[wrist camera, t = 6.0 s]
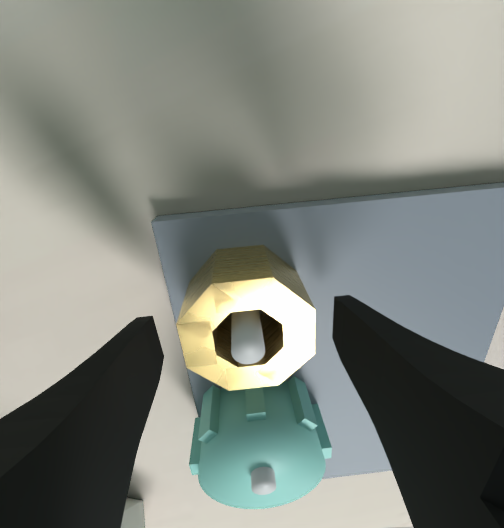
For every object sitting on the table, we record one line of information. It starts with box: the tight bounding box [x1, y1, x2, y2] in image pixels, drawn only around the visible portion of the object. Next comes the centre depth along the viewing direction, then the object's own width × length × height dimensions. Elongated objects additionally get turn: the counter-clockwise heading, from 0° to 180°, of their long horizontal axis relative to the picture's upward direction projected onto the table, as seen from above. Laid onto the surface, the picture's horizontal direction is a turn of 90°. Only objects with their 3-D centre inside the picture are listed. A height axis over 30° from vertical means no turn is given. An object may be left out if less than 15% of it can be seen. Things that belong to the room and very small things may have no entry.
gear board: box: [151, 182, 504, 509], centre depth 14 cm, size 17×20×5 cm
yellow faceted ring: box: [176, 245, 316, 391], centre depth 12 cm, size 5×5×3 cm
